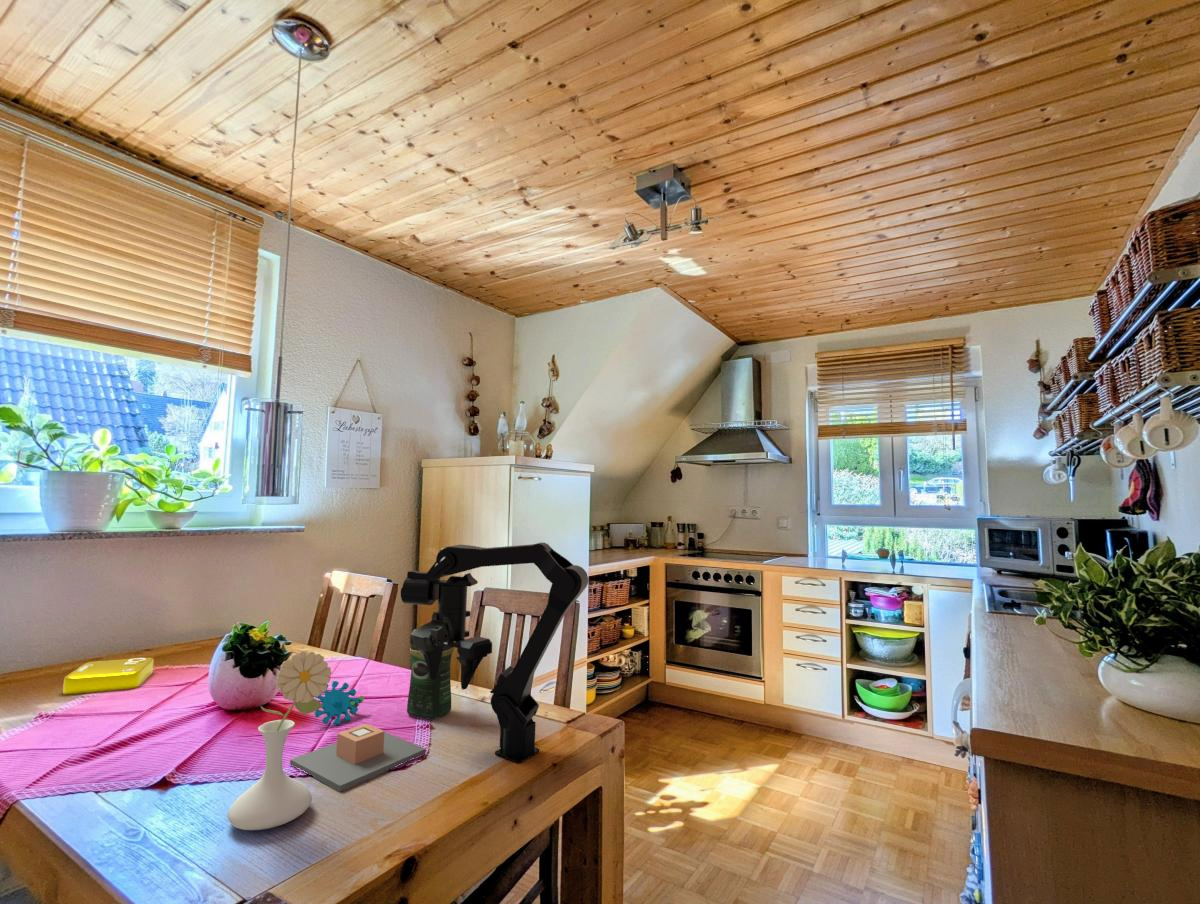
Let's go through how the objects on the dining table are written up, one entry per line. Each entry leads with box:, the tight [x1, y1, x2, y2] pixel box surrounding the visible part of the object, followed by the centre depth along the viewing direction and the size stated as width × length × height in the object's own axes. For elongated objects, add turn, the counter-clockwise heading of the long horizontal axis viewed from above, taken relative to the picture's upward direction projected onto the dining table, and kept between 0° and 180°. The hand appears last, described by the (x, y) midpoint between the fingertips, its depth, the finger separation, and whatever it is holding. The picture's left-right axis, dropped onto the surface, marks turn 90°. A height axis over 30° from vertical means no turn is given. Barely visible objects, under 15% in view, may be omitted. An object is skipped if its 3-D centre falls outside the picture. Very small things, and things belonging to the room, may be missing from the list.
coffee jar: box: [406, 643, 455, 720], centre depth 133 cm, size 10×8×19 cm
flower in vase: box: [226, 650, 332, 831], centre depth 90 cm, size 13×11×25 cm
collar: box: [336, 723, 386, 764], centre depth 109 cm, size 6×6×4 cm
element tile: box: [62, 657, 155, 695], centre depth 147 cm, size 15×15×5 cm
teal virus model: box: [314, 680, 365, 726], centre depth 128 cm, size 11×6×10 cm
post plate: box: [289, 729, 427, 793], centre depth 109 cm, size 16×18×5 cm
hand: (448, 684), depth 117 cm, fingers open, 9 cm apart
